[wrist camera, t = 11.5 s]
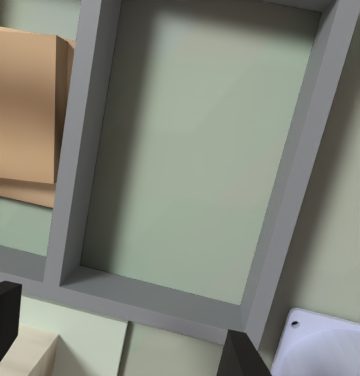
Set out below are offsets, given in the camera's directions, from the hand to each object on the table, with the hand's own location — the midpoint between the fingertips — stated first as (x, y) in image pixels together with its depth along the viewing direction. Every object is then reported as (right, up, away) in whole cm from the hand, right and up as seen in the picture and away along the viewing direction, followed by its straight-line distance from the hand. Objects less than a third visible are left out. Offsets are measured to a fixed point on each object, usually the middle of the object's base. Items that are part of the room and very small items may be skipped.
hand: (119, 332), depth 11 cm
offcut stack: (-8, +9, +10) cm, 16 cm away
